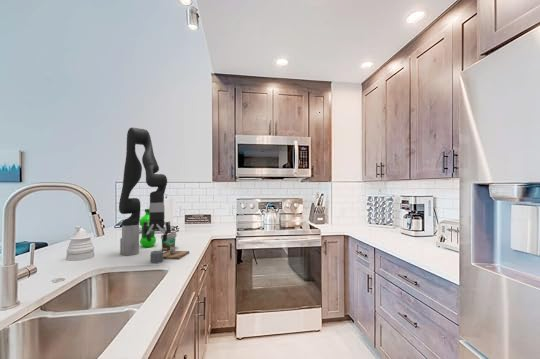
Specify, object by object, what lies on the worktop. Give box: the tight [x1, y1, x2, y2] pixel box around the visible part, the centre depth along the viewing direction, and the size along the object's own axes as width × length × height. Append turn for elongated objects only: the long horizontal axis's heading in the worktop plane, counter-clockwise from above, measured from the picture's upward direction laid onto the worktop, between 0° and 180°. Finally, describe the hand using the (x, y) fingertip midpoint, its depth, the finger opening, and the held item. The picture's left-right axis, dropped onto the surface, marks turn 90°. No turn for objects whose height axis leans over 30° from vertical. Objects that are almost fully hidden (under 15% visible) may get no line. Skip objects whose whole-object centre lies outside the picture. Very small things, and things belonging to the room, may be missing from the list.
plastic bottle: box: [139, 208, 157, 248], centre depth 181 cm, size 10×10×25 cm
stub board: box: [163, 246, 190, 261], centre depth 156 cm, size 14×14×5 cm
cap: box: [149, 250, 164, 264], centre depth 144 cm, size 6×6×5 cm
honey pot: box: [65, 225, 95, 262], centre depth 153 cm, size 13×13×18 cm
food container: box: [160, 231, 178, 252], centre depth 173 cm, size 12×6×10 cm, turn 168°
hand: (157, 241), depth 144 cm, fingers open, 8 cm apart
